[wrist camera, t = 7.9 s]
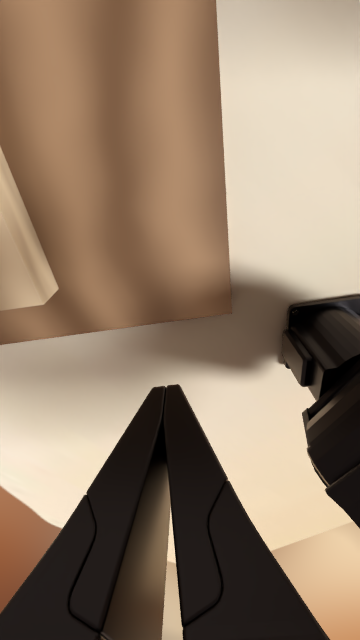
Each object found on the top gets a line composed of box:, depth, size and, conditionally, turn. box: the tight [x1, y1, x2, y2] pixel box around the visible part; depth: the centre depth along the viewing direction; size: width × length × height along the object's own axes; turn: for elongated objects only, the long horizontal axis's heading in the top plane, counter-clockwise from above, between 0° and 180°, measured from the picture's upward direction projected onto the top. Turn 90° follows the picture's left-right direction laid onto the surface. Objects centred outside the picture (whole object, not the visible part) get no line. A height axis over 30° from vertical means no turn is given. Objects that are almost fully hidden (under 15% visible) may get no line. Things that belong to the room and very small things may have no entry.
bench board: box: [0, 0, 232, 345], centre depth 17 cm, size 24×18×2 cm
